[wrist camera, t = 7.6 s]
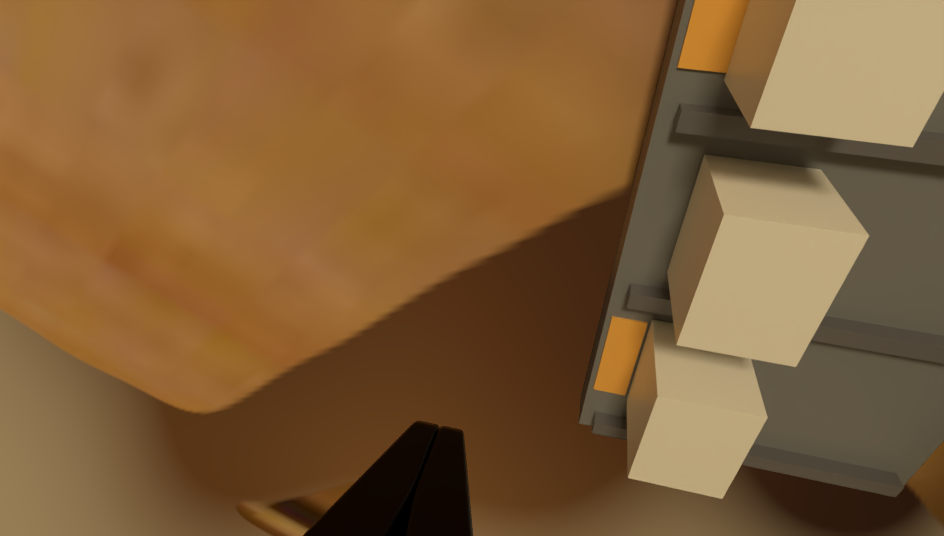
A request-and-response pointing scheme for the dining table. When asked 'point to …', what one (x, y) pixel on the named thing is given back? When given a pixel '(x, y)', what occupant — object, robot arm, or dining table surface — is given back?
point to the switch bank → (854, 307)
